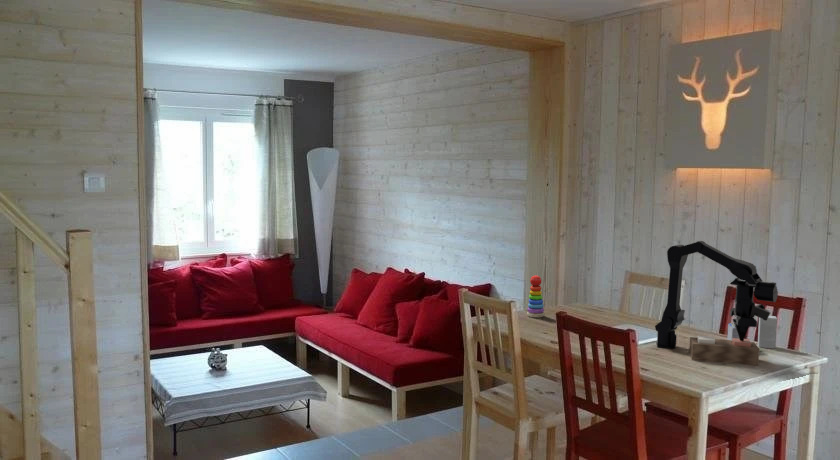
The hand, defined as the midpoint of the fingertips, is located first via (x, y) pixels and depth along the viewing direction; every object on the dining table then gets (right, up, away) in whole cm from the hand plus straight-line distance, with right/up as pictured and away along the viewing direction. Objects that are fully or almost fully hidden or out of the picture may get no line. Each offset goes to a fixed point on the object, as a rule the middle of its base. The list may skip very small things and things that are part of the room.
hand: (741, 340), depth 255 cm
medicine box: (+6, -6, +19) cm, 20 cm away
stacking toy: (-63, 0, +68) cm, 93 cm away
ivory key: (-12, -3, +4) cm, 13 cm away
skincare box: (+19, -6, +20) cm, 28 cm away
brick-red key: (0, -4, 0) cm, 4 cm away
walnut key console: (-6, -7, +2) cm, 9 cm away
